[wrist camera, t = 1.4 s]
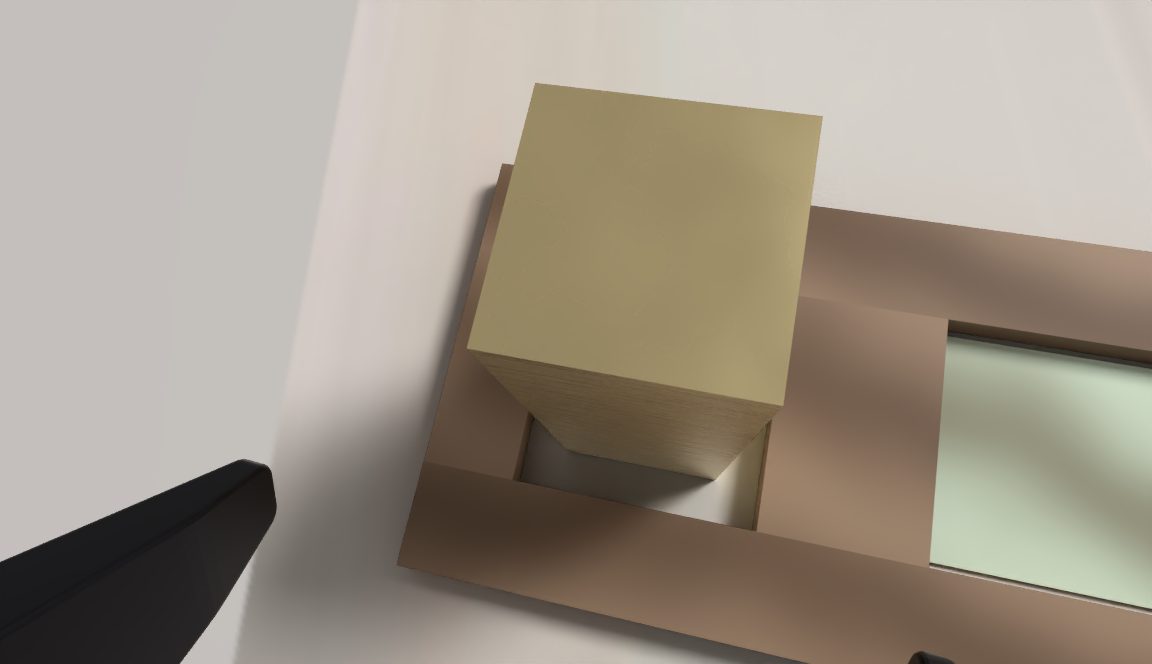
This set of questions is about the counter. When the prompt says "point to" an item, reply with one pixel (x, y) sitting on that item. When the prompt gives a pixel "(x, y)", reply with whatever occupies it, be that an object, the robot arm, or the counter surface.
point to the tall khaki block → (649, 273)
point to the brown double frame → (863, 466)
